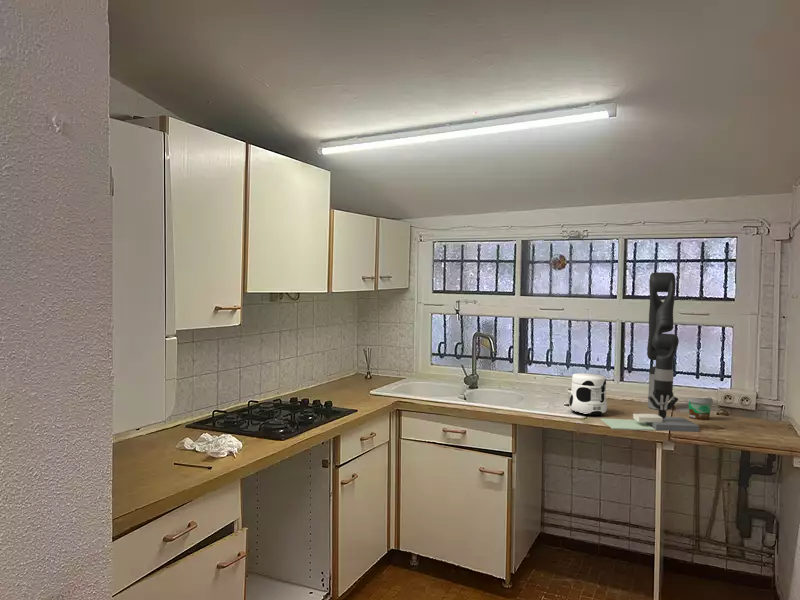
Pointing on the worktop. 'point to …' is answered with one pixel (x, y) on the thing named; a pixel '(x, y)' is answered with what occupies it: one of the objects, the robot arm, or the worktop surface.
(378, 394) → the worktop surface
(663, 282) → the robot arm
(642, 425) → the mat
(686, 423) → the platform
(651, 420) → the cream flat block
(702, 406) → the food container
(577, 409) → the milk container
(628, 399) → the worktop surface
